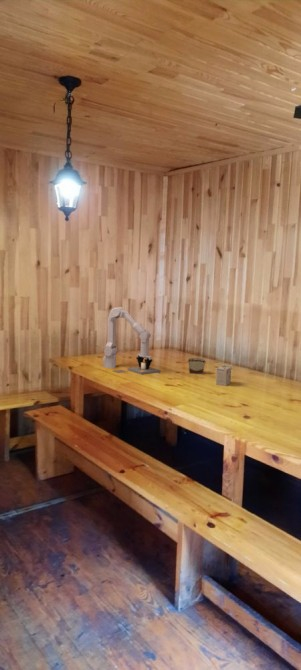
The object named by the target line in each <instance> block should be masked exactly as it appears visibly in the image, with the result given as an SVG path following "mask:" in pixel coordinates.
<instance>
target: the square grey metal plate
mask: <svg viewBox="0 0 301 670" xmlns="http://www.w3.org/2000/svg"><path fill="white" fill-rule="evenodd" d="M112 372H113V373H117V374H122V373H128V370H127V371H126V370H125V369H124V370H123V369H117V370H116V369H115V370H112Z"/></svg>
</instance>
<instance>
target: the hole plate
mask: <svg viewBox="0 0 301 670" xmlns="http://www.w3.org/2000/svg"><path fill="white" fill-rule="evenodd" d="M127 372H133V373H136V374H138V375H141V376H143V375H149V374H150V375H151V374H161V369H157V368H155V367H152V366H150V367H149V369H147V370H141V367H139V366H135V367H133V366H132V367H127Z"/></svg>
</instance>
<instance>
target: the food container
mask: <svg viewBox="0 0 301 670" xmlns="http://www.w3.org/2000/svg"><path fill="white" fill-rule="evenodd" d="M206 362H207V361H206V359H203V358H198V357H192V358H188V360H187V363H188V372H189V373H190V375H191V374H192V375H193V374H194V375H204V370H205V364H206ZM189 373H188V374H189Z"/></svg>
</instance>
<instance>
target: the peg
mask: <svg viewBox="0 0 301 670" xmlns="http://www.w3.org/2000/svg"><path fill="white" fill-rule="evenodd" d="M141 370H146V364H145V361H143V362H141Z"/></svg>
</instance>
